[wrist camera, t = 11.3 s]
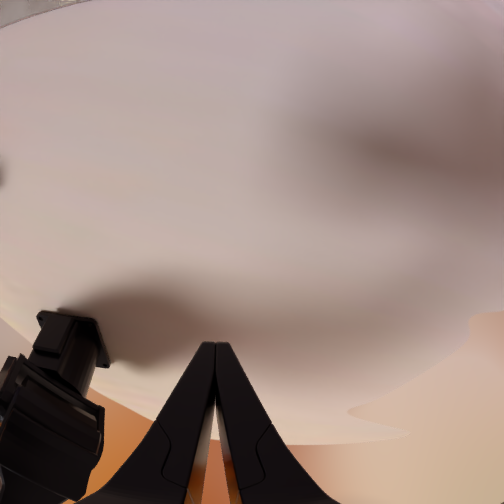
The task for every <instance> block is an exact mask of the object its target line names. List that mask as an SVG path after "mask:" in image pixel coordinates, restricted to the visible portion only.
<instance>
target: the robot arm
mask: <svg viewBox="0 0 504 504" xmlns="http://www.w3.org/2000/svg"><path fill="white" fill-rule="evenodd" d="M36 317H37V320H38V322H39V325H40V327H41V331H40V332H39V334H38V336H37V338H36V340H35V342H34V344H33V350H32V352H31V354H30V356H29V358H28V359H26V358H25V356H24V355H23V354H21V353H20V355H19V356H18V358H16V357H11V356H8V358H7V360H6V362H5V364H4V366H3V368H2V370H1V372H0V504H62V503H63V502H65V501H66V500H68V499H70V500H73V501H75V502H76V503H74V504H201V500H202V493H203V486H204V479H205V471H206V465H207V457H208V450H209V444H210V437H211V430H212V423H213V416H214V409H215V405H216V414H217V422H218V429H219V436H220V443H221V449H222V456H223V462H224V468H225V475H226V481H227V487H228V493H229V498H230V504H340V503H339V502H337V501H335V500H334V499H332V498H331V497H329V496H328V495H327V494H326V493H325V492H324V491H323V490H322V489H321V488H320V487H319V486H318V485H317V484H316V483H315V481H314V480H313V479H312V478H311V477H310V476H309V474H308V473H307V472H306V471H305V470H304V468H303V467H302V466H301V465H300V464H299V462H298V461H297V460H296V458H295V457H294V456H293V454H292V453H291V452H290V450H289V449H288V448H287V446H286V445H285V443H284V442H283V440H282V439H281V437H280V435H279V434H278V432H277V430H276V428H275V427H274V425H273V424H272V422H271V420H270V418H269V416H268V415H267V413H266V411H265V409H264V407H263V405H262V404H261V402H260V400H259V398H258V396H257V394H256V393H255V391H254V389H253V387H252V385H251V383H250V381H249V380H248V378H247V376H246V374H245V372H244V370H243V368H242V366H241V364H240V362H239V360H238V359H237V357H236V355H235V353H234V351H233V349H232V347H231V345H230V343H228V342H217V343H215V342H210V341H204V342H202V343H201V345H200V347H199V348H198V350H197V352H196V353H195V355H194V357H193V358H192V360H191V362H190V363H189V365H188V366H187V368H186V370H185V371H184V373H183V375H182V376H181V378H180V380H179V381H178V383H177V385H176V386H175V388H174V390H173V391H172V393H171V395H170V396H169V398H168V400H167V401H166V403H165V405H164V406H163V408H162V410H161V411H160V413H159V415H158V416H157V418H156V420H155V421H154V423H153V424H152V426H151V427H150V429H149V431H148V432H147V434H146V435H145V437H144V438H143V440H142V441H141V443H140V444H139V445H138V447H137V448H136V449H135V450H134V452H133V453H132V454H131V455H130V457H129V458H128V459H127V460H126V461H125V462H124V464H123V465H122V466H121V467H120V468H119V470H118V471H117V472H116V473H115V474H114V475H113V477H112V478H111V479H110V480H109V481H108V482H107V483H106V484H105V485H104V486H103V487H102V488H101V489H99V490H98V491H96V492H95V493H93V494H91V495H89V496H87V497H86V498H84V499H82V500H80V499H81V498H82V497H83V496H84V495H85V493H86V489H87V484H88V480H89V476H90V473H91V470H92V469H93V468H95V466H96V465H97V463H98V462H99V460H100V457H101V455H102V452H103V446H104V417H105V408H104V407H102V406H100V405H99V406H98V405H96V404H95V403H93V402H91V401H89V400H88V399H86V395H87V392H88V389H89V385H90V382H91V379H92V376H93V373H94V370H95V367H100V368H109V367H110V364H111V363H110V360H109V357H108V354H107V352H106V349H105V346H104V343H103V340H102V337H101V334H100V331H99V328H98V325H97V322H96V321H95V320H94V319H91V318H83V317H75V316H67V315H59V314H52V313H45V312H39V313H38V314H37V316H36ZM78 500H80V501H78ZM77 501H78V502H77ZM501 504H504V502H503V503H501Z"/></svg>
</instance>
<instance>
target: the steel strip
mask: <svg viewBox="0 0 504 504" xmlns="http://www.w3.org/2000/svg"><path fill="white" fill-rule="evenodd" d="M86 1H91V0H0V28H3V27H5V26H8V25H10V24H13V23H15V22H18V21H21V20H23V19H26V18H29V17H32V16H35V15H38V14H41V13H44V12H48V11H51V10H55V9H58V8H62V7H65V6H69V5H73V4H77V3H82V2H86Z"/></svg>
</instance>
